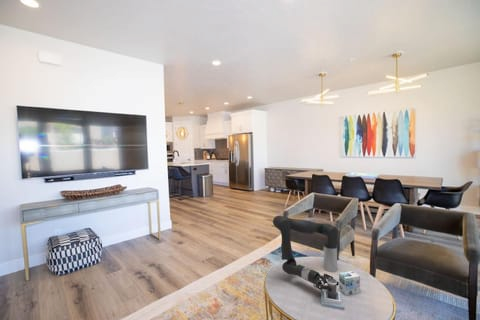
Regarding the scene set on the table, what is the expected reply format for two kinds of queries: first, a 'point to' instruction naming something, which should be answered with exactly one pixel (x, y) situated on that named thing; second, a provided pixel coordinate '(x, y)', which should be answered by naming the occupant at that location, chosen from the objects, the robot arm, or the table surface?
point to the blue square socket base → (332, 300)
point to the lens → (332, 284)
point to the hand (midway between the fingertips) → (335, 286)
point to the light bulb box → (349, 282)
